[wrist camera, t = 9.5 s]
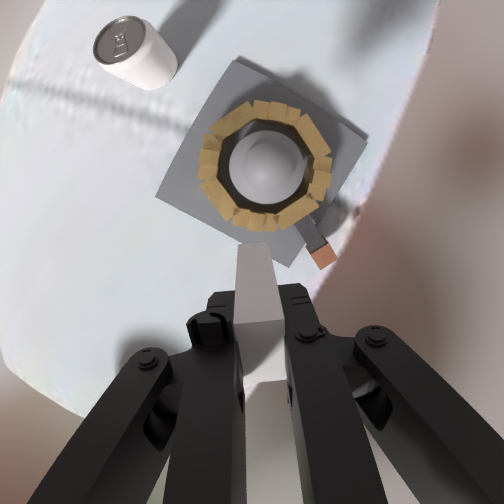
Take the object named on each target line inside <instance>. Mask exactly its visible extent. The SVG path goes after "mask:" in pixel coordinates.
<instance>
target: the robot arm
mask: <svg viewBox="0 0 504 504" xmlns="http://www.w3.org/2000/svg"><path fill="white" fill-rule="evenodd" d="M186 326H187V329H188V333H189V336H190V339H191V343H192V348H191V349H190V350H188V351H186V352H183V353H180V354H176V355H172V356H168V355H167V353H166V352H165V351H164V350H162V349H159V348H151V347H150V348H146V349H142V350H140V351H138V352H136V353H135V354H134V355H133V356H132V357H131V358H130V359H129V360H128V362H127V363H126V364H125V366H124V367H123V368H122V370H121V371H120V372H119V373H118V375H117V376H116V377H115V379H114V380H113V381H112V383H111V384H110V385H109V387H108V388H107V389H106V391H105V392H104V393H103V395H102V396H101V397H100V399H99V400H98V401H97V403H96V404H95V406H94V407H93V408H92V410H91V411H90V412H89V414H88V415H87V416H86V418H85V419H84V421H83V422H82V423H81V425H80V426H79V428H78V429H77V430H76V432H75V433H74V435H73V436H72V437H71V439H70V440H69V442H68V443H67V444H66V446H65V447H64V449H63V450H62V452H61V453H60V455H59V456H58V457H57V459H56V460H55V462H54V463H53V465H52V466H51V468H50V469H49V471H48V472H47V474H46V475H45V477H44V478H43V480H42V481H41V483H40V484H39V486H38V487H37V489H36V490H35V492H34V493H33V495H32V496H31V498H30V499H29V501H28V503H27V504H146V503H147V500H148V498H149V496H150V494H151V492H152V490H153V488H154V486H155V484H156V482H157V480H158V478H159V476H160V474H161V472H162V470H163V468H164V466H165V464H166V461H167V459H168V457H169V455H170V460H169V466H168V472H167V478H166V484H165V491H164V497H163V504H247V493H246V440H245V439H246V438H245V393H244V388H243V380H244V383H255V382H266V381H276V380H285V379H287V385H288V386H287V387H288V403H289V404H290V411H291V417H292V424H293V431H294V438H295V445H296V452H297V459H298V465H299V474H300V481H301V489H302V495H303V503H304V504H388V501H387V498H386V495H385V491H384V488H383V484H382V481H381V478H380V474H379V471H378V468H377V465H376V461H375V458H374V455H373V452H372V449H371V446H370V443H369V440H368V437H367V434H366V431H365V428H364V425H365V426H366V428H367V429H368V431H369V432H370V433H371V435H372V436H373V438H374V439H375V441H376V442H377V444H378V445H379V446H380V448H381V449H382V451H383V452H384V453H385V455H386V456H387V458H388V459H389V461H390V462H391V463H392V465H393V466H394V468H395V469H396V470H397V472H398V473H399V475H400V476H401V477H402V479H403V480H404V482H405V483H406V484H407V486H408V487H409V489H410V490H411V491H412V493H413V494H414V496H415V497H416V498H417V500H418V501H419V503H420V504H504V440H503V439H502V437H501V436H500V435H499V434H498V433H497V432H496V431H495V430H494V429H493V428H492V427H491V426H490V425H489V424H488V423H487V422H486V421H485V420H484V419H483V418H482V417H481V416H480V415H479V414H478V413H477V412H476V411H475V410H474V409H473V408H472V407H471V406H470V405H469V404H468V402H467V401H465V400H464V399H463V398H462V397H461V396H460V395H459V394H458V393H457V392H456V391H455V390H454V389H453V388H452V387H451V386H450V385H449V384H448V383H447V382H446V381H445V380H444V379H443V378H442V377H441V376H440V375H439V374H438V373H437V372H436V371H434V369H433V368H431V367H430V366H429V365H428V364H427V363H426V362H425V361H424V360H423V359H422V358H421V357H420V356H419V355H418V354H417V353H415V352H414V351H413V350H412V349H411V348H410V347H409V346H408V345H407V344H406V343H405V342H404V341H402V340H401V339H400V338H399V337H398V336H397V335H396V334H395V333H394V332H393V331H391V330H390V329H388V328H386V327H383V326H377V325H371V326H366V327H363V328H362V329H360V330H359V331H358V332H357V334H356V336H355V338H353V337H340V336H335V335H332V334H330V333H329V331H328V330H327V329H326V327H324V326H322V325H321V324H320V323H319V320H318V317H317V315H316V312H315V309H314V307H313V304H312V302H311V299H310V297H309V294H308V291H307V289H306V288H305V287H304V286H302V285H301V284H300V283H295V284H286V285H277V281H276V277H275V272H274V268H273V263H272V258H271V254H270V249H269V245H268V242H259V243H249V244H239V245H238V255H237V270H236V286H235V290H234V291H223V292H214V293H213V295H212V296H211V297H210V298H209V299H208V303H207V308H206V311H202V312H200V313H197V314H195V315H194V316H192V317H191V318H190V319H189V320H188V322H187V323H186ZM363 423H364V425H363ZM170 453H171V454H170Z"/></svg>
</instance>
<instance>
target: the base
mask: <svg viewBox="0 0 504 504" xmlns="http://www.w3.org/2000/svg"><path fill="white" fill-rule="evenodd" d="M254 100H259V101H264V102H269V103H271V101H274V102H278V103H283V104H287V106H288V107H293V108H297V109H301V112H300V117H301V116H303V115H305V114H308V116H309V117H310V119H311V120H312V122H313V123H314V125H315V126H316V128H317V129H318V131H319V133H320V134H321V136H322V137H323V139H324V140H325V142H326V144H327V145H328V147H329V148H330V150H331V152H330V153H329V154H327V155H326V157H330V158H333V159H332V164H331V169H330V173H331V174H332V178H331V182H330V187H329V188H327V187H326V191H325V196H324V200H323V201H319V200H316V202H317V204H318V205H319V207H318V208H317V209H315V210H314V211H312V212H311V213H309V214H308V215H309V216H310V218H311V220H312V221H313V223H314V224H315V226H317V224H318V223H319V221H320V220H321V218H322V217H323V215H324V214H325V212H326V210H327V209H328V207H329V206H330V204H331V203H332V201H333V199H334V198H335V196H336V195H337V193H338V191H339V190H340V188H341V187H342V185H343V183H344V182H345V180H346V179H347V177H348V175H349V174H350V172H351V170H352V169H353V167H354V165H355V164H356V162H357V161H358V159H359V157H360V156H361V154H362V152H363V151H364V149H365V147H366V145H367V144H368V143H367V142H366V141H365V140H363V139H362V138H361V137H360V136H358V135H357V134H356V133H354V132H353V131H352V130H350V129H349V128H348V127H346V126H345V125H343V124H342V123H341V122H339V121H338V120H336V119H335V118H334V117H332V116H331V115H329V114H328V113H326V112H325V111H323V110H322V109H320V108H319V107H317V106H316V105H314V104H313V103H311V102H309V101H308V100H306V99H305V98H303V97H301V96H300V95H298V94H296V93H295V92H293V91H291V90H290V89H288V88H286V87H284V86H283V85H281V84H279V83H277V82H276V81H274V80H272V79H270V78H268V77H266V76H264V75H263V74H261V73H259V72H257V71H255V70H253V69H251V68H249V67H247V66H245V65H243V64H241V63H238V62H236V61H234V60H233V61H232V62H231V64H230V65H229V67H228V68H227V70H226V71H225V73H224V74H223V76H222V77H221V79H220V80H219V82H218V83H217V85H216V86H215V88H214V89H213V91H212V93H211V94H210V96H209V97H208V99H207V101H206V102H205V104H204V106H203V107H202V109H201V111H200V112H199V114H198V116H197V117H196V119H195V121H194V123H193V124H192V126H191V128H190V130H189V131H188V133H187V135H186V137H185V139H184V140H183V142H182V144H181V146H180V148H179V150H178V152H177V153H176V155H175V157H174V159H173V161H172V163H171V165H170V167H169V169H168V171H167V173H166V175H165V177H164V179H163V181H162V183H161V185H160V188H159V190H158V192H157V194H156V196H155V197H157V198H158V199H160V200H162V201H164V202H166V203H168V204H170V205H172V206H174V207H175V208H177V209H179V210H181V211H183V212H185V213H187V214H189V215H191V216H192V217H194V218H196V219H198V220H200V221H202V222H204V223H206V224H208V225H209V226H211V227H213V228H215V229H217V230H219V231H221V232H223V233H224V234H226V235H228V236H230V237H232V238H234V239H236V240H238V241H239V242H241V243H243V244H249V243H259V242H268V245H269V249H270V254H271V258H272V259H273V260H275V261H277V262H279V263H281V264H282V265H284V266H286V267H288V268H289V267H290V265H291V264H292V262H293V261H294V259H295V258H296V256H297V255H298V253H299V252H300V250H301V249H302V247H303V246H304V244H305V243H306V242H305V241H304V239H303V237H302V236H301V234H300V233H299V231H298V230H297V228H296V227H295V225H294V224H292V225H291V226H289V227H288V228H286V229H285V230H283V231H282V230H281V228H280V227H279V225H277V230H276V232H271V231H265V230H262V232H256V231H250V230H247V227H241V226H235V225H232V219H233V217H232V218H230V219H229V220H228V221H225V220H224V218H223V217H222V216H221V214H220V213H219V212H218V210H217V209H216V208H215V206H214V205H213V204H212V202H211V201H210V200H209V198H208V197H207V196H206V194H205V193H204V192H203V190H202V189H201V188H200V186H199V185H200V184H201V183H202V182H204V181H205V180H202V179H197V176H198V170H199V164H198V161H199V154H200V149H202V145H203V139H204V134H205V133H206V134H213V133H212V132H211V130H210V129H209V128H208V127H210V126H211V125H213V124H214V123H215V122H217V121H218V120H220V119H221V118H223V117H224V116H226V115H227V114H229V113H230V112H232V111H233V110H235V109H236V108H238V107H239V106H241V105H242V104H244V103H245V102H247V101H248V102H249V104H250V105H251V106H252V107H253V105H254ZM306 162H307V155H306V153H305V152H304V150H303V149H302V147H301V146H300V144H299V143H298V141H297V140H296V138H295V137H294V135H293V134H292V132H291V131H290V130H289V128H285V127H281V126H276V125H271V124H266V123H261V122H255V121H254V122H252V123H251V124H249V125H248V126H246V127H244V128H243V129H241V130H240V131H238V132H237V133H236V134H234V135H233V136H231V137H230V138H228V139H227V140H225V142H224V148H223V154H222V159H221V165H220V171H219V176H220V177H221V178H222V180H223V181H224V182H225V184H226V185H227V186H228V188H229V189H230V191H231V192H232V193H233V195H234V196H235V197H236V199H237V200H238V201H239V202H241V203H247V204H253V205H258V206H264V207H270V208H273V207H275V206H276V205H278V204H279V203H281V202H282V201H284V200H285V199H287V198H288V197H290V196H292V195H293V194H295V193H296V192H298V191H299V190H301V186H302V181H303V176H304V172H305V167H306Z"/></svg>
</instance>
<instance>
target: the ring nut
mask: <svg viewBox="0 0 504 504" xmlns="http://www.w3.org/2000/svg"><path fill="white" fill-rule="evenodd" d="M300 112H301V109H297V108H293V107H288V106H287V104H283V103H278V102H274V101H271V103H269V102H264V101H259V100H254V105H253V107H252V106H251V105H250V104H249V102H248V101H247V102H245V103H244V104H242V105H241V106H239V107H238V108H236V109H235V110H233V111H232V112H230V113H229V114H227V115H226V116H224V117H223V118H221V119H220V120H218V121H217V122H215V123H214V124H213V125H211V126H210V127H208V128H209V129H210V130H211V132H212V133H213V134H206V133H205V134H204V139H203V145H202V149H200V154H199V161H198V164H199V170H198V176H197V179H202V180H205V181H204V182H202V183H201V184H200V185H199V186H200V188H201V189H202V190H203V192H204V193H205V194H206V196H207V197H208V198H209V200H210V201H211V202H212V204H213V205H214V206H215V208H216V209H217V210H218V212H219V213H220V214H221V216H222V217H223V218H224V220H225V221H228V220H229V219H230V218H232V217H233V219H232V225H235V226H241V227H247V230H250V231H256V232H262V230H265V231H271V232H276V230H277V225H279V227H280V228H281V230H282V231H283V230H285V229H286V228H288V227H289V226H291V225H292V224H294V225H295V227H296V228H297V230H298V231H299V233H300V234H301V236H302V237H303V239H304V241H305V242H306V244H307V245H306V248H307V250H308V251H309V253H310V255H311V256H312V258H313V259H314V261H315V263H316V264H317V266H318V267H319V269H320V270H322V269H323V268H325V267H326V266H328V265H329V264H331V263H332V262H334V261H335V260H337V259H338V258H337V256H336V254H335V253H334V251H333V249H332V248H331V246H330V244H329V243H328V241H327V240H326V239H325V238H324V237H323V236H321V234H320V233H319V231H318V229H317V228H316V226H315V224H314V223H313V221H312V220H311V218H310V216H309V215H308V214H309V213H311V212H312V211H314V210H315V209H317V208H318V207H319V205H318V204H317V202H316V200H319V201H323V200H324V196H325V191H326V187H327V188H329V187H330V182H331V178H332V174H331V173H330V169H331V164H332V159H333V158H330V157H326V155H327V154H329V153H330V152H331V150H330V148H329V147H328V145H327V144H326V142H325V140H324V139H323V137H322V136H321V134H320V133H319V131H318V129H317V128H316V126H315V125H314V123H313V122H312V120H311V119H310V117H309V116H308V114H305V115H303V116H301V117H300ZM254 121H255V122H261V123H266V124H271V125H276V126H281V127H285V128H289V130H290V131H291V132H292V134H293V135H294V137H295V138H296V140H297V141H298V143H299V144H300V146H301V147H302V149H303V150H304V152H305V153H306V155H307V162H306V167H305V172H304V176H303V181H302V186H301V190H299V191H298V192H296V193H295V194H293V195H292V196H290V197H288V198H287V199H285V200H284V201H282V202H281V203H279V204H278V205H276V206H275V207H273V208H270V207H264V206H258V205H253V204H247V203H241V202H239V201H238V200H237V199H236V197H235V196H234V195H233V193H232V192H231V191H230V189H229V188H228V186H227V185H226V184H225V182H224V181H223V180H222V178H221V177H220V176H219V171H220V165H221V159H222V154H223V148H224V142H225V140H227V139H228V138H230V137H231V136H233V135H234V134H236V133H237V132H238V131H240V130H241V129H243V128H244V127H246V126H248V125H249V124H251V123H252V122H254Z"/></svg>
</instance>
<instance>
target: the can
mask: <svg viewBox="0 0 504 504" xmlns="http://www.w3.org/2000/svg"><path fill="white" fill-rule="evenodd" d="M93 54H94V57H95V59H96V60H97V61H98V63H99V65H100V66H101V67H102V68H103V69H104V70H106V71H108V72H110V73H112V74H114V75H116V76H118V77H119V78H121V79H123V80H125V81H127V82H129V83H131V84H133V85H135V86H137V87H139V88H141V89H145V90H154V89H158V88H160V87H162V86H164V85H166V84H167V83H168V82H169V81H170V80H171V79H172V78H173V76H174V75H175V73H176V70H177V65H178V62H177V58H176V56H175V54H174V53H173V51H172V50H171V49H170V47H169V46H168V45H167V43H166V42H165V41H164V39H163V38H162V37H161V36H160V34H159V33H158V32H157V31H156V30H155V28H154V27H153V26H152V25H151V24H150V23H149V22H147V21H146V20H143V19H140V18H138V17H135V16H124V17H120V18H117V19H115V20H113V21H112V22H110V23H109V24H107V25H106V26H105V27H104V28H103V29H102V30H101V31H100V33H99V34H98V36H97V37H96V39H95V42H94V46H93Z"/></svg>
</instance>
